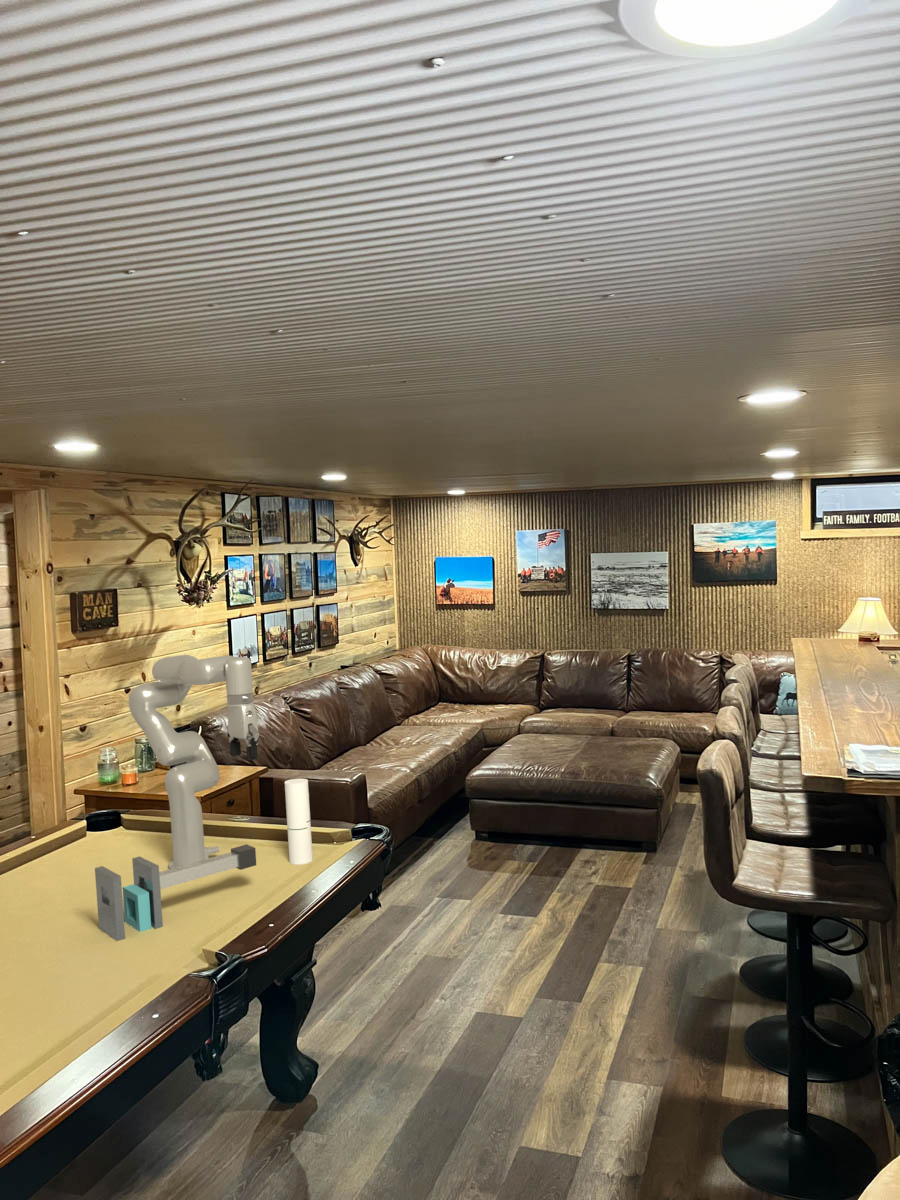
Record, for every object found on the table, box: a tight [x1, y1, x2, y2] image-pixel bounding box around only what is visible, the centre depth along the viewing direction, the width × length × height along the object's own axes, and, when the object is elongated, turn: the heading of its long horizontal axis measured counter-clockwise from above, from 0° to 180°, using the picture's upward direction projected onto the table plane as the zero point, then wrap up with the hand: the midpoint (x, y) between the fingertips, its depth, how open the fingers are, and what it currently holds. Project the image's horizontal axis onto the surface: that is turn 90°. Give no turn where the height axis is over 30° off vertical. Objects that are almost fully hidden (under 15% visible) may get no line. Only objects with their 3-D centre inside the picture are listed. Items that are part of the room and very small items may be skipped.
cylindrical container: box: [284, 778, 314, 866], centre depth 286 cm, size 7×7×25 cm
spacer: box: [122, 883, 152, 933], centre depth 240 cm, size 3×10×10 cm, turn 42°
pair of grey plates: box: [94, 856, 164, 942], centre depth 239 cm, size 12×12×16 cm
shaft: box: [144, 843, 257, 891], centre depth 253 cm, size 31×5×5 cm, turn 132°
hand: (244, 757), depth 270 cm, fingers open, 9 cm apart
